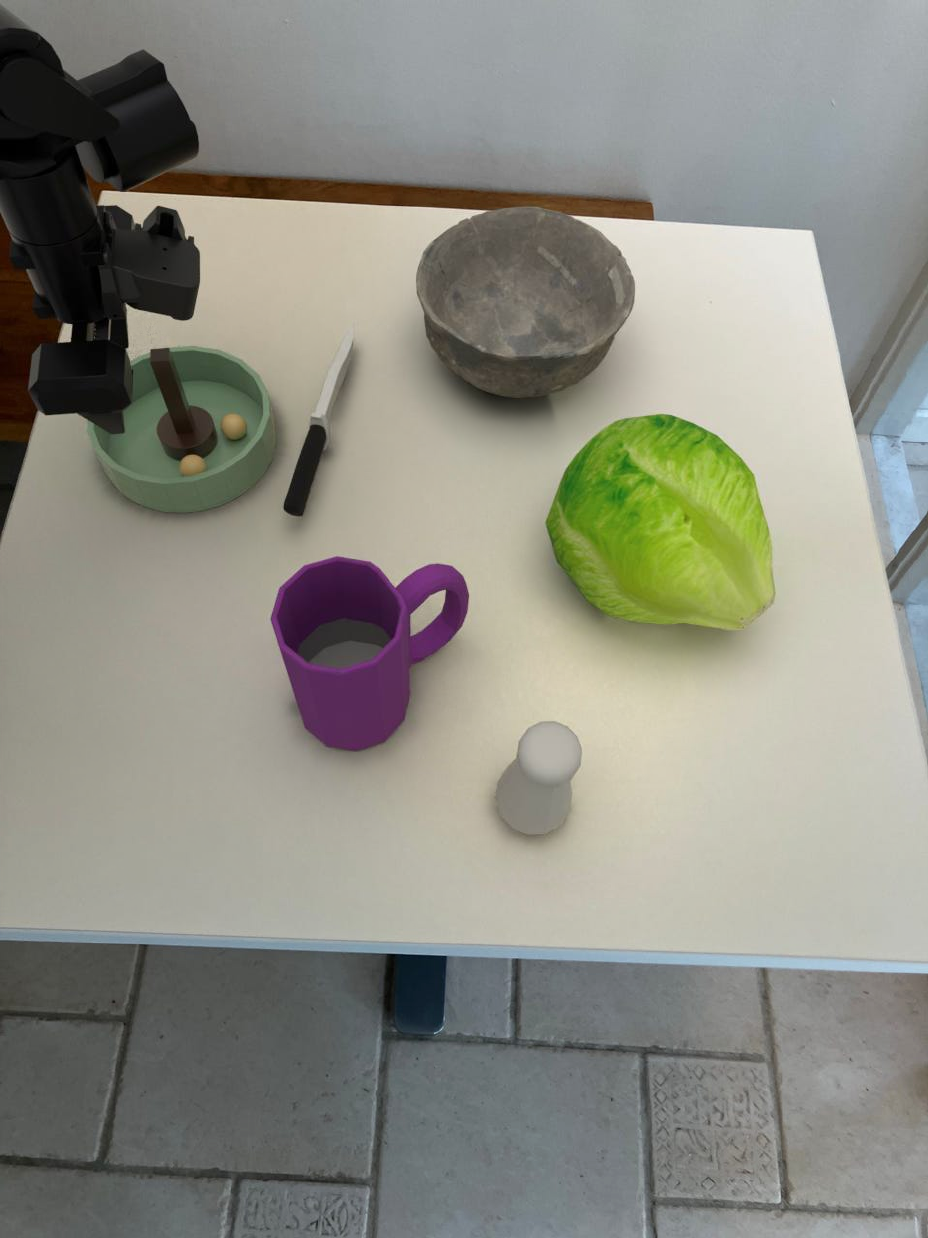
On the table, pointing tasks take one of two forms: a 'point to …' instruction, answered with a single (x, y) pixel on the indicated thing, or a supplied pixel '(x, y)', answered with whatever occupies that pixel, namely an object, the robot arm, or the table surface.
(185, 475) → the bean
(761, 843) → the table surface
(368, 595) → the mug
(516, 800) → the salt shaker
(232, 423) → the bean
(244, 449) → the mixing bowl
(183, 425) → the lever handle
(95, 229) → the robot arm
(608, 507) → the lettuce
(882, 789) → the table surface
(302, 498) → the knife
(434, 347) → the bowl
